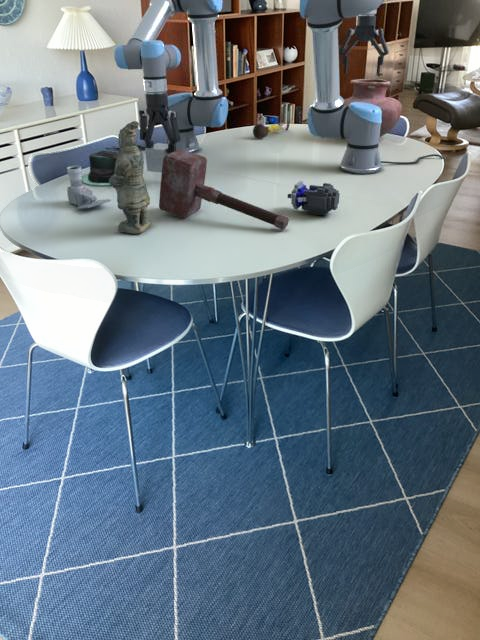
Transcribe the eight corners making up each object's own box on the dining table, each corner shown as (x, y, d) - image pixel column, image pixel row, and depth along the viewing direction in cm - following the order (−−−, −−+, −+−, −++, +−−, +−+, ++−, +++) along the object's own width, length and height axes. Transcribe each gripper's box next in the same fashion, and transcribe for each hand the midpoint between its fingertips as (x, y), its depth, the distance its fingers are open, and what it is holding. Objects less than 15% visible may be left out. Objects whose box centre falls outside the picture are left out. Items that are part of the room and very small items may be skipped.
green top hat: (70, 181, 201) (92, 168, 218) (116, 207, 203) (134, 192, 220) (83, 145, 193) (105, 134, 211) (131, 172, 195) (148, 159, 212)
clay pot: (396, 132, 265) (403, 75, 252) (401, 147, 239) (409, 84, 227) (332, 131, 270) (336, 75, 257) (330, 145, 244) (333, 84, 232)
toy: (295, 178, 172) (342, 184, 166) (295, 205, 177) (340, 211, 171) (285, 186, 166) (333, 192, 160) (284, 213, 170) (331, 220, 164)
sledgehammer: (299, 190, 156) (179, 147, 167) (285, 200, 148) (161, 154, 160) (286, 244, 166) (174, 200, 177) (272, 256, 158) (156, 209, 170)
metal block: (159, 165, 202) (157, 143, 198) (177, 167, 199) (176, 144, 195) (147, 171, 195) (144, 148, 191) (165, 173, 192) (163, 149, 189)
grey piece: (79, 162, 182) (107, 171, 173) (85, 197, 188) (112, 207, 179) (56, 168, 176) (83, 177, 167) (62, 204, 182) (89, 214, 173)
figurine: (296, 120, 270) (269, 123, 251) (294, 136, 273) (268, 140, 254) (273, 118, 276) (245, 120, 257) (271, 134, 279) (244, 137, 260)
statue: (131, 220, 168) (117, 116, 152) (158, 224, 164) (147, 118, 149) (109, 233, 159) (93, 124, 144) (138, 237, 156) (124, 126, 140)
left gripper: (123, 92, 185) (131, 161, 197) (177, 95, 178) (182, 166, 189) (136, 89, 191) (143, 156, 203) (188, 92, 184) (192, 161, 195)
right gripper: (333, 15, 221) (329, 73, 232) (396, 15, 212) (390, 75, 223) (338, 15, 227) (334, 71, 238) (400, 14, 218) (393, 73, 229)
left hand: (162, 161), depth 196 cm, fingers closed on metal block, 8 cm apart
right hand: (361, 73), depth 231 cm, fingers open, 13 cm apart
